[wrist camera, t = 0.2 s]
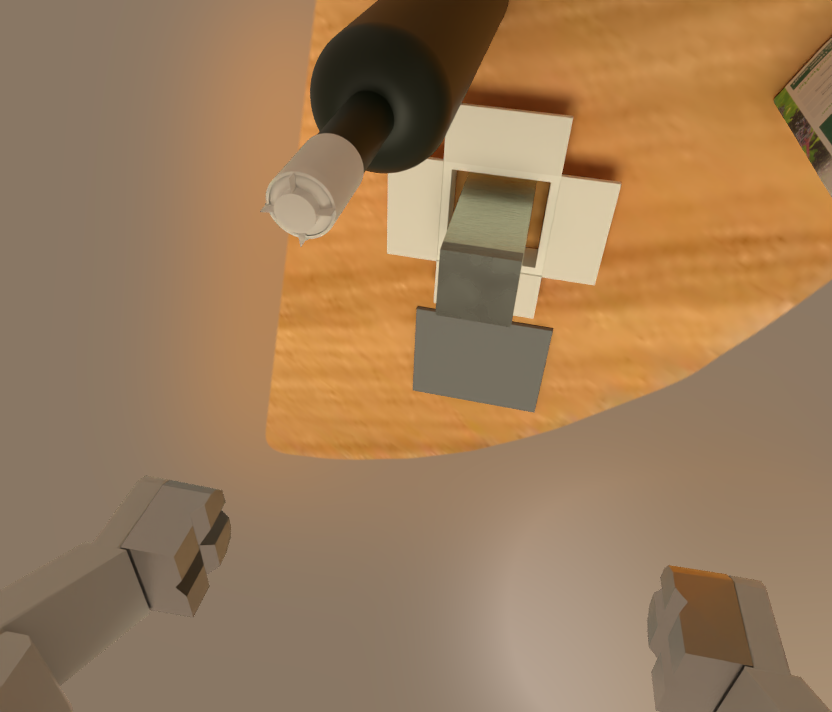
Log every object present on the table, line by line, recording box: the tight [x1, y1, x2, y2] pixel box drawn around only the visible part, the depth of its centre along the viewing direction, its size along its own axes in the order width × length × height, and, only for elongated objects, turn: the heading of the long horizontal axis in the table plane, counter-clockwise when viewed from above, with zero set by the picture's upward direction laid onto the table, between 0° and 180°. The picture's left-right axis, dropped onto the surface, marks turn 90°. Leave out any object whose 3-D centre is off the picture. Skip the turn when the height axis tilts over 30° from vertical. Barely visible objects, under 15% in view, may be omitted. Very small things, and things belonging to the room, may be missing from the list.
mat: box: [413, 306, 553, 412], centre depth 60 cm, size 10×12×1 cm
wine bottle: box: [260, 0, 509, 246], centre depth 30 cm, size 6×6×30 cm
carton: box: [387, 103, 621, 319], centre depth 48 cm, size 16×16×3 cm
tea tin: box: [435, 172, 537, 327], centre depth 45 cm, size 5×5×12 cm
